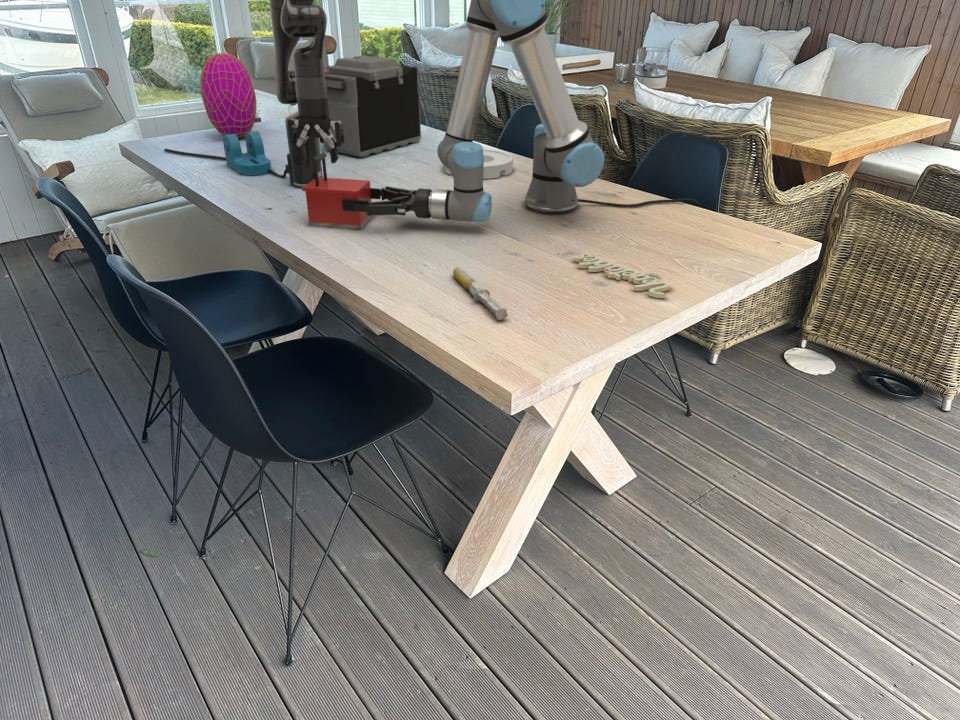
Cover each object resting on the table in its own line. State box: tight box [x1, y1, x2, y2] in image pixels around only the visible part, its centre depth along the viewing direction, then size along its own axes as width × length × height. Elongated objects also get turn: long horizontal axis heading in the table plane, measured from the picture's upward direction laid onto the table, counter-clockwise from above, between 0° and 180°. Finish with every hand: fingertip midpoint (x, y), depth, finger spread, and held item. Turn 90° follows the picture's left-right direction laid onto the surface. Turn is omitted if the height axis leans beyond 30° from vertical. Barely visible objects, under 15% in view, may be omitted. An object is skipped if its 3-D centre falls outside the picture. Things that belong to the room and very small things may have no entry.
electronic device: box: [319, 55, 422, 159], centre depth 250 cm, size 37×22×30 cm, turn 144°
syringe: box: [452, 266, 509, 321], centre depth 145 cm, size 25×4×3 cm, turn 21°
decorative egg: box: [200, 52, 257, 139], centre depth 259 cm, size 19×19×30 cm
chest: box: [305, 183, 374, 230], centre depth 183 cm, size 14×10×9 cm
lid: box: [301, 151, 371, 195], centre depth 178 cm, size 15×10×8 cm
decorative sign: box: [574, 252, 671, 299], centre depth 155 cm, size 26×1×10 cm
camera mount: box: [222, 131, 272, 176], centre depth 226 cm, size 18×10×10 cm, turn 35°
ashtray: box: [443, 148, 514, 180], centre depth 230 cm, size 23×23×4 cm
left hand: (319, 161), depth 178 cm, fingers open, 7 cm apart
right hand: (350, 198), depth 181 cm, fingers closed on chest, 10 cm apart
